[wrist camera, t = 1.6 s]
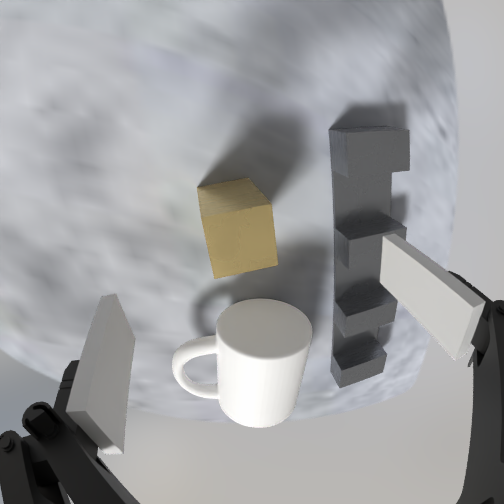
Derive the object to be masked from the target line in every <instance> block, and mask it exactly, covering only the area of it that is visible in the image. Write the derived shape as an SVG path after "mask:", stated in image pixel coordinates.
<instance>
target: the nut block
mask: <svg viewBox="0 0 504 504" xmlns="http://www.w3.org/2000/svg"><path fill="white" fill-rule="evenodd" d="M197 192H198V199H199V206H200V213H201V219H202V224H203V229H204V233H205V238H206V243H207V247H208V252H209V257H210V261H211V266H212V270H213V274H214V279H217V278H222V277H226V276H231V275H236V274H240V273H245V272H249V271H254V270H258V269H263V268H267V267H272V266H276V265H278V258H277V248H276V239H275V230H274V221H273V212H272V204H271V203H270V202H269V200H268V199H267V198H266V197H265V196H264V195H263V194H262V193H261V191H260V190H259V189H258V188H257V187H256V186H255V185H254V184H253V182H252V181H251V180H250V179H249V178H243V179H237V180H232V181H227V182H221V183H216V184H211V185H206V186H201V187H197Z"/></svg>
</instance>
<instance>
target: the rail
mask: <svg viewBox="0 0 504 504" xmlns="http://www.w3.org/2000/svg"><path fill="white" fill-rule="evenodd" d="M329 140H330V153H331V169H332V188H333V214H334V311H333V337H332V356H331V373H332V375H333V377H334V379H335V381H336V383H337V384H338V386H339V388H342V387H345V386H348V385H351V384H353V383H356V382H359V381H362V380H364V379H367V378H370V377H372V376H375V375H377V374H380V373H382V372H383V369H384V365H385V361H386V357H387V353H386V352H385V351H384V349H383V348H382V347H381V345H380V344H379V342H378V341H377V335H378V329H379V326H382V325H385V324H388V323H390V322H393V321H394V319H395V313H396V308H397V302H398V300H397V299H396V298H395V297H394V296H393V295H392V294H391V293H390V292H389V291H388V290H387V289H386V288H385V287H384V286H383V285H382V284H381V283H380V272H381V259H382V244H383V236H386V235H390V234H394V233H395V234H396V235H398V236H399V237H401V238H402V239H404V240H405V241H406V230H407V227H405V226H403V225H402V224H400V223H399V222H397V221H396V220H394V219H393V218H391V217H390V212H391V172H400V171H409V170H410V141H409V130H405V129H400V128H395V127H389V126H384V127H360V128H344V129H330V130H329Z"/></svg>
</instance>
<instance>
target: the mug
mask: <svg viewBox="0 0 504 504" xmlns="http://www.w3.org/2000/svg"><path fill="white" fill-rule="evenodd" d="M312 334H313V330H312V325H311V323H310V321H309V319H308V318H307V316H306V315H305V314H304V313H303V312H302V311H300V310H299V309H297V308H296V307H294V306H292V305H290V304H288V303H285V302H282V301H278V300H273V299H249V300H244V301H240V302H237V303H235V304H233V305H231V306H229V307H228V308H226V309H225V310H224V311H223V312H222V313H221V315H220V316H219V318H218V320H217V324H216V334H215V335H212V336H206V337H201V338H196V339H193V340H190V341H188V342H186V343H184V344H182V345H181V346H180V347H179V348H178V349H177V350H176V351H175V353H174V355H173V359H172V369H173V373H174V376H175V378H176V380H177V381H178V383H179V384H180V385H181V386H182V387H183V388H184V389H185V390H187V391H188V392H190V393H192V394H194V395H197V396H200V397H205V398H214V399H219V404H220V406H221V408H222V410H223V411H224V413H225V414H226V415H227V416H228V417H229V418H231V419H232V420H233V421H235V422H237V423H239V424H242V425H245V426H249V427H259V428H260V427H269V426H273V425H276V424H278V423H280V422H282V421H283V420H285V419H286V418H287V417H288V416H289V415H290V414H291V413H292V411H293V410H294V408H295V405H296V401H297V397H298V393H299V390H300V386H301V382H302V378H303V374H304V370H305V365H306V361H307V357H308V353H309V348H310V344H311V340H312ZM211 353H217V376H218V382H217V384H200V383H196V382H193V381H191V380H190V379H189V378H188V377H187V375H186V374H185V371H184V364H185V363H186V362H187V361H188V360H190V359H192V358H194V357H197V356H201V355H205V354H211Z"/></svg>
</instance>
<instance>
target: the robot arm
mask: <svg viewBox="0 0 504 504" xmlns="http://www.w3.org/2000/svg"><path fill="white" fill-rule="evenodd" d="M380 283H381V284H382V285H383V286H384V287H385V288H386V289H387V290H388V291H389V292H390V293H391V294H392V295H393V296H394V297H395V298H396V299H397V300H398V301H399V302H400V303H401V304H402V305H403V306H404V307H405V308H406V309H407V310H408V311H409V312H410V313H411V314H412V316H413V317H414V318H415V319H416V320H417V321H418V322H419V323H420V324H421V325H422V326H423V327H424V328H425V329H426V330H427V331H428V332H429V333H430V334H431V336H432V337H433V338H434V339H435V340H436V341H437V342H438V343H439V344H440V345H441V346H442V347H443V349H444V350H446V352H447V353H448V354H449V355H450V356H451V357H452V359H454V361H455V360H457V359H459V358H460V357H462V356H464V355H466V354H467V352H468V349H469V347H470V344H471V343H472V345H474V347H475V349H474V352H473V354H472V356H471V359H470V361H469V363H468V367H470V365H471V363H472V362H473V373H474V374H473V376H474V379H473V386H474V387H473V413H472V428H471V438H470V448H469V455H468V462H467V469H466V476H465V480H464V486H463V491H462V494H461V496H460V498H459V500H458V502H457V503H456V504H504V301H503V300H496V301H494V302H493V301H491V300H490V299H489V298H488V297H486V296H485V295H484V294H483V293H481V292H480V291H479V290H478V289H476V288H475V287H472V285H471V284H470V283H469V282H466V280H465V279H464V278H462V277H461V276H460V275H458V274H456V273H453V272H451V271H446V270H445V269H444V268H442V267H441V266H440V265H438V264H437V263H436V262H434V261H433V260H432V259H430V258H429V257H428V256H426V255H425V254H423V253H422V252H421V251H419V250H418V249H416V248H415V247H414V246H412V245H411V244H409V243H408V242H407V241H405V240H404V239H402V238H401V237H399V236H398V235H396V234H395V233H394V234H390V235H386V236H383V244H382V259H381V272H380ZM134 345H135V337H134V334H133V332H132V330H131V328H130V325H129V323H128V321H127V319H126V316H125V314H124V312H123V309H122V307H121V305H120V302H119V300H118V297H117V295H116V294H112V295H107V296H102V297H101V299H100V302H99V305H98V307H97V310H96V313H95V316H94V318H93V321H92V324H91V327H90V330H89V333H88V336H87V339H86V342H85V345H84V348H83V351H82V355H81V358H80V360H75V361H71V363H70V364H69V365H68V367H67V368H66V369H65V371H64V374H63V378H62V382H61V384H60V390H59V391H58V394H57V397H56V401H55V405H54V408H53V409H52V408H51V406H50V405H49V404H48V403H46V402H36V403H34V404H32V405H31V406H30V407H29V408H27V410H26V411H25V413H24V414H23V418H22V424H23V427H24V428H25V429H26V430H27V431H28V432H29V433H30V434H31V435H29V436H26V437H23V438H21V437H20V436H19V435H18V434H17V433H16V432H15V431H12V430H10V431H6V432H4V433H3V434H1V436H0V486H1V491H2V497H3V501H4V504H71V503H70V500H69V498H68V495H69V497H70V498H71V500H72V501H73V503H74V504H140V503H139V502H138V501H137V500H136V499H135V498H134V497H133V496H132V495H131V494H130V493H129V492H128V490H127V489H126V488H125V487H124V486H123V485H122V484H121V483H120V482H119V481H118V479H117V478H116V477H115V476H114V475H113V473H112V472H111V471H110V470H109V469H108V467H107V466H106V465H105V464H104V462H103V461H102V460H101V459H100V458H99V457H98V456H97V451H98V447H99V448H100V449H101V450H102V451H103V452H104V453H105V454H123V453H124V439H125V438H124V437H125V424H126V413H127V402H128V393H129V384H130V375H131V367H132V360H133V352H134ZM67 494H68V495H67Z"/></svg>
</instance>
